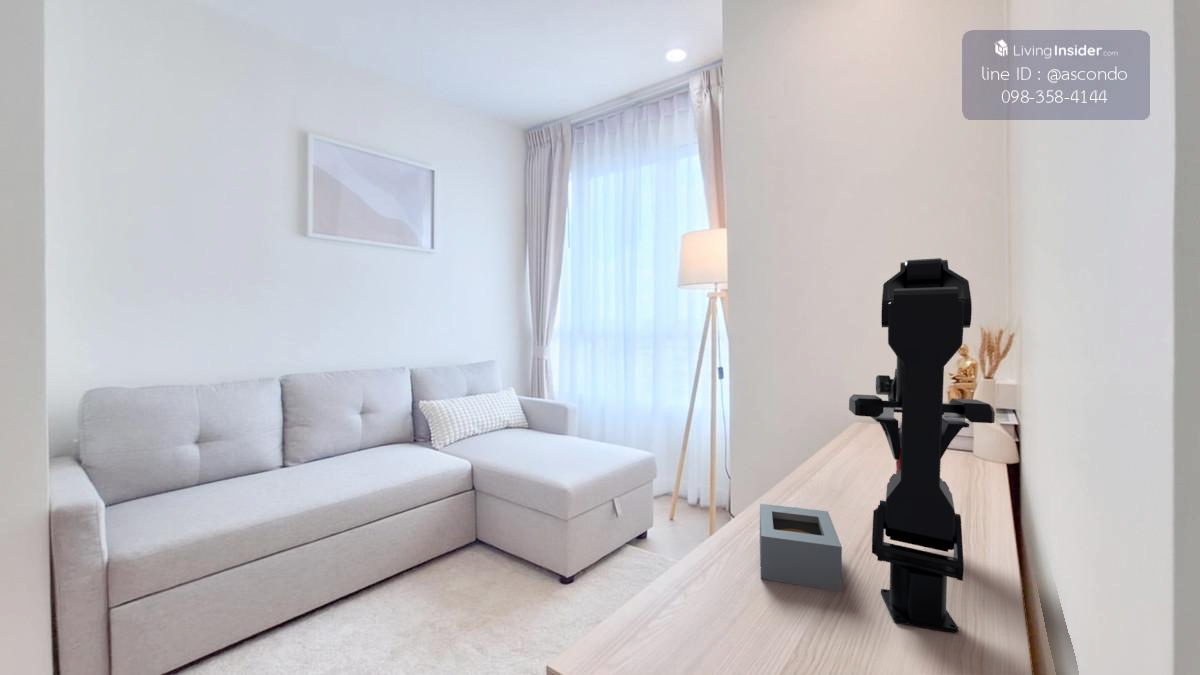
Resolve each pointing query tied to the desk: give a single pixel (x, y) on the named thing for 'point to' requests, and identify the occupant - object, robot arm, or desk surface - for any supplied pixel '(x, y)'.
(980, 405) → the robot arm
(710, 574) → the desk surface
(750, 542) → the desk surface
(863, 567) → the desk surface
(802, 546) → the box
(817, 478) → the desk surface
